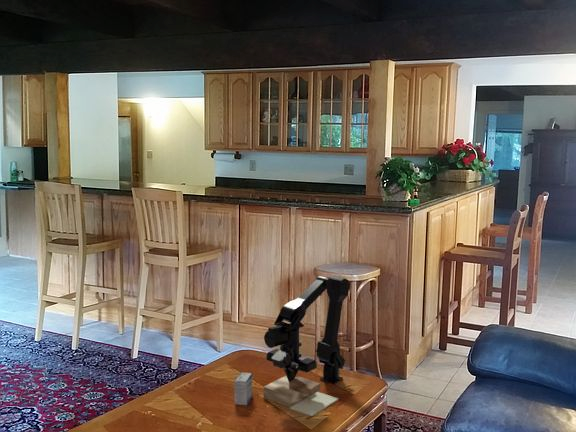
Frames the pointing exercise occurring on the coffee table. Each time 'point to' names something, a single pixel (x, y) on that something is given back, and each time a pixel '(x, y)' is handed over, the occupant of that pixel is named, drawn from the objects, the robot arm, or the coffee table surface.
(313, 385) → the walnut tile
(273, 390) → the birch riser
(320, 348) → the robot arm
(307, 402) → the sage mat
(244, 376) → the medicine box
